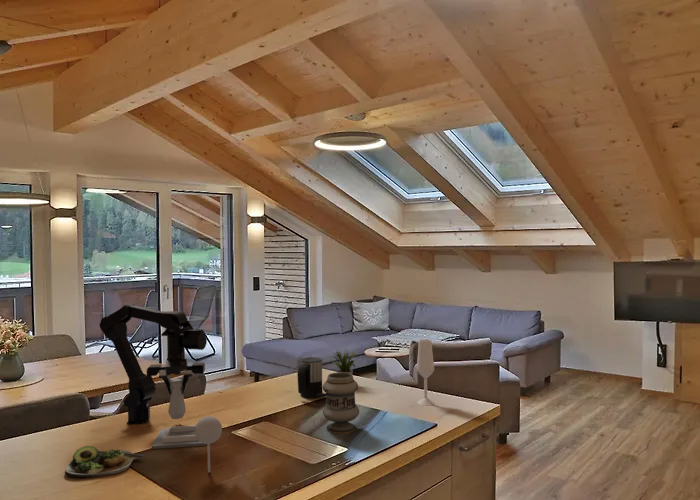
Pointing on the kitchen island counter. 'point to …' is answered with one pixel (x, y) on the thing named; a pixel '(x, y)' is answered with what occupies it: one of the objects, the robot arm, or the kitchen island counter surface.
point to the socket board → (177, 437)
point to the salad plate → (98, 462)
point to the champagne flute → (425, 366)
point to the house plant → (344, 362)
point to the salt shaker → (176, 400)
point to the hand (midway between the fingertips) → (176, 394)
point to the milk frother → (310, 378)
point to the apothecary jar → (340, 402)
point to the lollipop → (208, 432)
